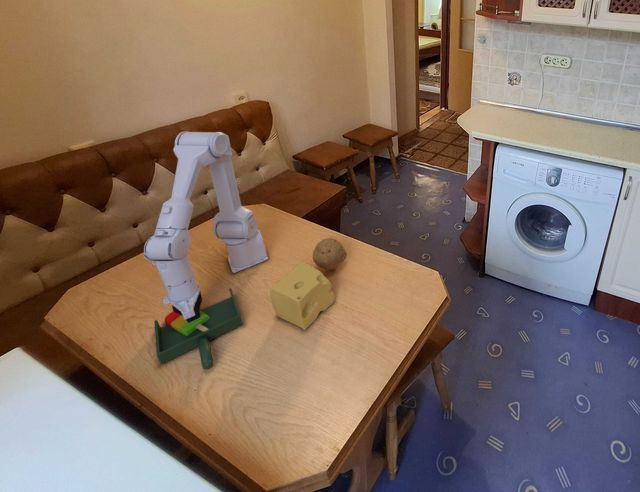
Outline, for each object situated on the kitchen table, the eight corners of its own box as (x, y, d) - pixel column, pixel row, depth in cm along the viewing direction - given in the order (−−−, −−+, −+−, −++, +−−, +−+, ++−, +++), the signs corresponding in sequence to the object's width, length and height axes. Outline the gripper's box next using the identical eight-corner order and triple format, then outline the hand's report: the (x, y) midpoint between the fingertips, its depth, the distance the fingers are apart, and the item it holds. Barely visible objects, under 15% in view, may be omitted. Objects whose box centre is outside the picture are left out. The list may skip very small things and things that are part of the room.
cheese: (335, 301, 96) (331, 273, 92) (303, 333, 87) (296, 303, 83) (307, 288, 100) (301, 260, 96) (274, 317, 91) (266, 288, 87)
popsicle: (187, 306, 93) (185, 301, 92) (225, 327, 88) (223, 322, 87) (164, 323, 89) (161, 318, 88) (202, 347, 83) (199, 341, 82)
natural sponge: (309, 267, 107) (303, 240, 103) (335, 252, 114) (331, 226, 110) (324, 282, 102) (319, 255, 98) (351, 266, 108) (348, 239, 104)
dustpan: (158, 330, 87) (154, 320, 86) (233, 296, 97) (231, 287, 95) (164, 398, 73) (159, 388, 72) (251, 351, 83) (248, 341, 81)
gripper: (155, 268, 85) (171, 310, 91) (158, 306, 75) (176, 350, 81) (191, 255, 90) (205, 296, 95) (198, 289, 80) (213, 333, 85)
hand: (194, 320), depth 88 cm, fingers closed, pressing on popsicle
